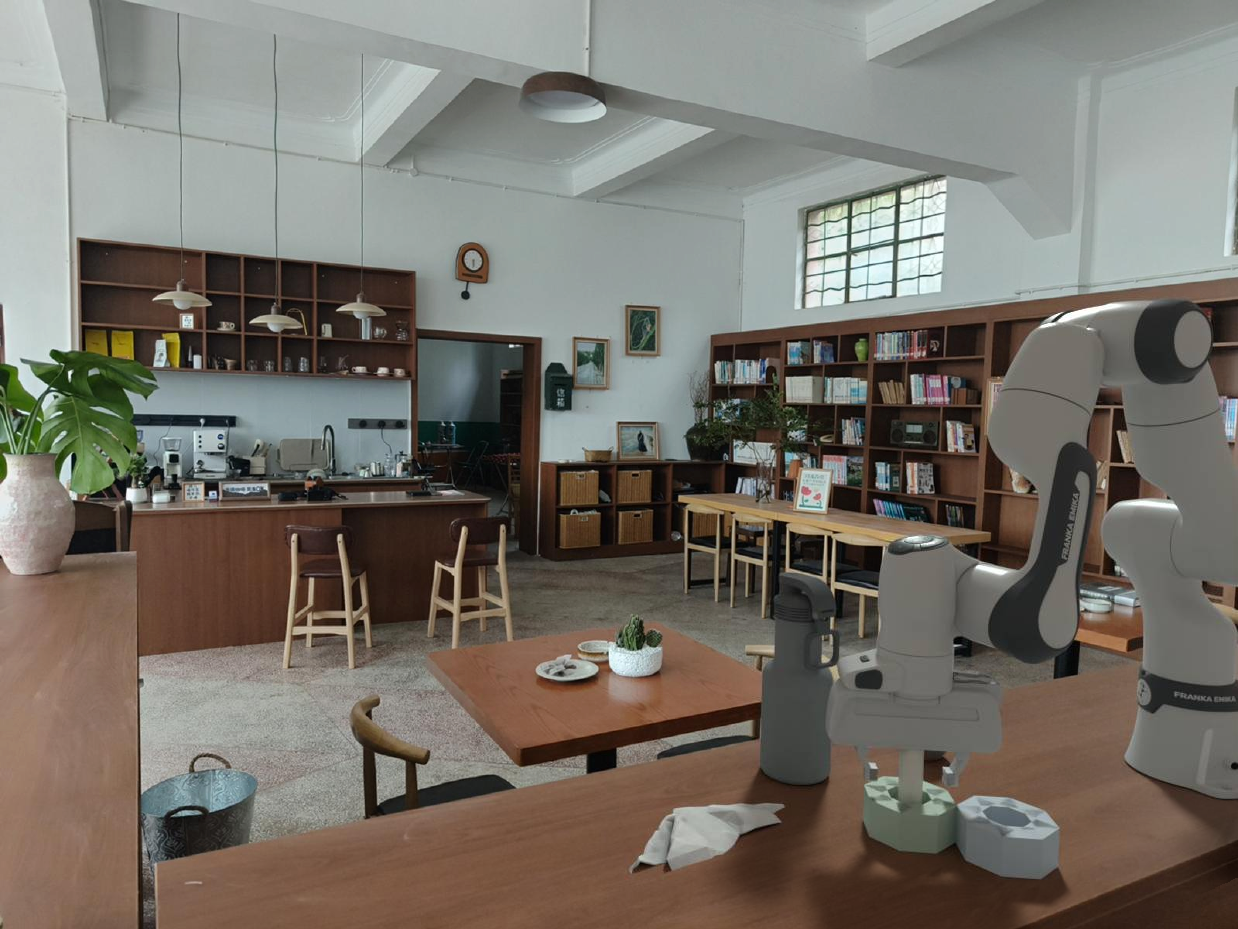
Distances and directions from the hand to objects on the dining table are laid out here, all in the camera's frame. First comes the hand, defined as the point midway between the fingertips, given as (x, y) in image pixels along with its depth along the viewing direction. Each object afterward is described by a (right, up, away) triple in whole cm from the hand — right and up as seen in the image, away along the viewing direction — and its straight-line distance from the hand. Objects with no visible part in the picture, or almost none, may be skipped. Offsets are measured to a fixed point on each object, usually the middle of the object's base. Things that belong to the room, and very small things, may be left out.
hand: (909, 782), depth 101 cm
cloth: (-25, -7, 0) cm, 26 cm away
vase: (+11, -5, +23) cm, 26 cm away
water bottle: (-10, -5, +17) cm, 20 cm away
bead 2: (+9, -7, -5) cm, 12 cm away
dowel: (0, -6, 0) cm, 6 cm away
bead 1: (0, -6, 0) cm, 6 cm away
